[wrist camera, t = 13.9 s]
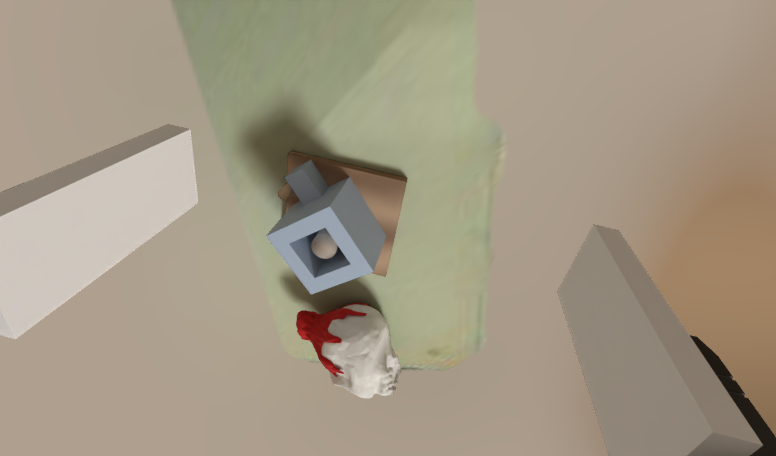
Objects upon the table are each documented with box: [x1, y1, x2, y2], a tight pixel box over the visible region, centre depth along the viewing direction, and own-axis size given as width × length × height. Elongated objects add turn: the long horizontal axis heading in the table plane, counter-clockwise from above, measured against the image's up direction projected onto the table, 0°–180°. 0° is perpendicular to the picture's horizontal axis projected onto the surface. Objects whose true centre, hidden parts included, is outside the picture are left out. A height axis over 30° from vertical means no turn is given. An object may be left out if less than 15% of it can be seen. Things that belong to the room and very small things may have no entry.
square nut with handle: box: [266, 160, 386, 295], centre depth 40 cm, size 12×8×7 cm
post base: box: [286, 151, 407, 277], centre depth 42 cm, size 13×13×7 cm
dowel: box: [278, 182, 294, 200], centre depth 41 cm, size 1×1×3 cm
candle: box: [296, 303, 401, 398], centre depth 49 cm, size 9×11×15 cm
